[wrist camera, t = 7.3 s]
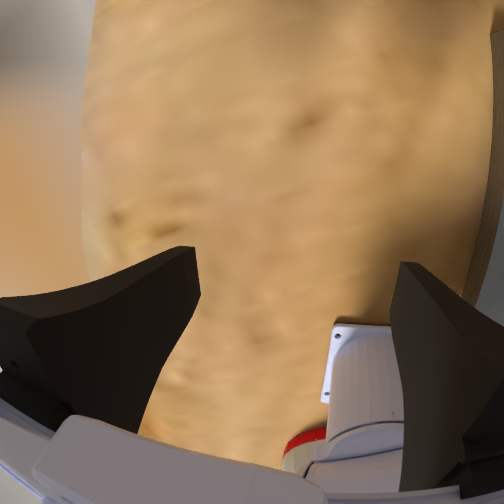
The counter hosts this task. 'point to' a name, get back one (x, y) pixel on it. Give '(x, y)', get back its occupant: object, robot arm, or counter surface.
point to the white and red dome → (302, 449)
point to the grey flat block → (491, 211)
